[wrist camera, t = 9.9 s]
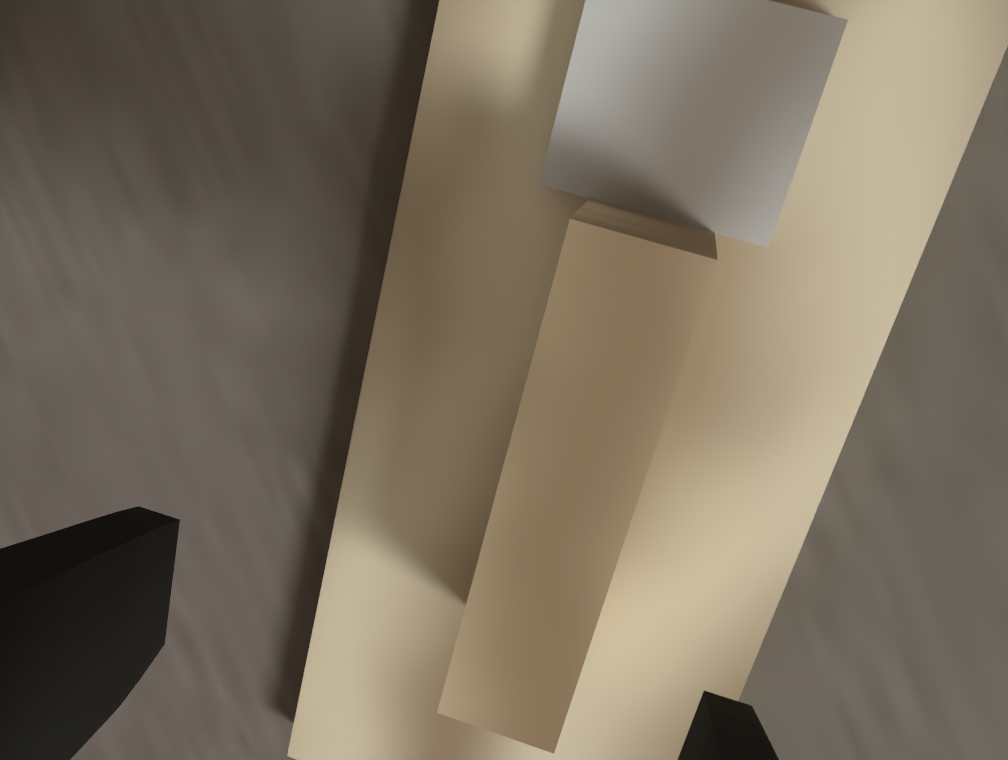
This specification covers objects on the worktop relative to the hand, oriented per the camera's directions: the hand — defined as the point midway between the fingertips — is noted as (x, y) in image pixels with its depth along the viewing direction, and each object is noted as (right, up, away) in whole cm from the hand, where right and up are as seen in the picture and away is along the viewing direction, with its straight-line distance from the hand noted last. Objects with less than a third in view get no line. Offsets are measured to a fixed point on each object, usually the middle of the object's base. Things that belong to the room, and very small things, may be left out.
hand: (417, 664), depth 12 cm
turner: (+3, +4, +7) cm, 9 cm away
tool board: (+3, +3, +8) cm, 9 cm away
